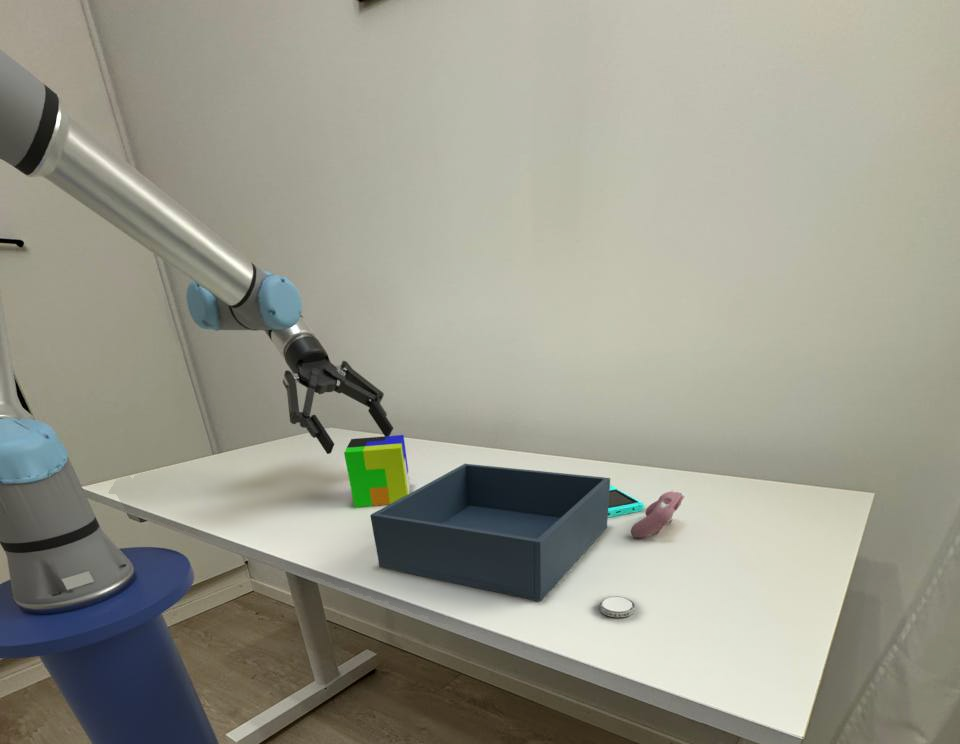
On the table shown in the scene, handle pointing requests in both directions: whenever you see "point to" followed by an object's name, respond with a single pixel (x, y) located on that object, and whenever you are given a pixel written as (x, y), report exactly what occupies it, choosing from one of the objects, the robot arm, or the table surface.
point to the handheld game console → (622, 503)
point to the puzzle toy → (377, 470)
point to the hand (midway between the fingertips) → (361, 440)
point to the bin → (494, 528)
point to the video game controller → (657, 515)
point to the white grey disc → (617, 606)
